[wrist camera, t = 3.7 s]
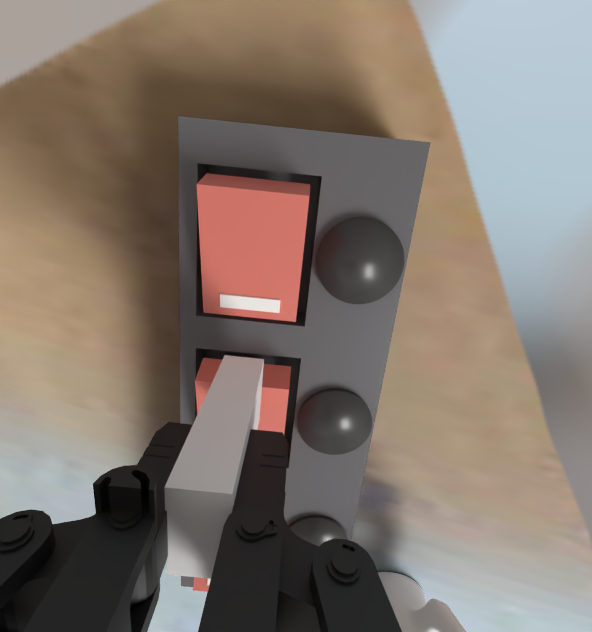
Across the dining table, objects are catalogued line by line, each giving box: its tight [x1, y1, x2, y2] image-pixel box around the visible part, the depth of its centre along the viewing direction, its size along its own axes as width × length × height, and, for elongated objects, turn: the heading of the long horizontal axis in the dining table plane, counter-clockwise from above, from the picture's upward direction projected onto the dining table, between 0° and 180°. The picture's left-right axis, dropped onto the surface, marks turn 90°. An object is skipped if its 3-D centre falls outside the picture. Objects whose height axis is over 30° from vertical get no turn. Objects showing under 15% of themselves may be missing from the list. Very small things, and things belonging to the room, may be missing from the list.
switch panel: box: [178, 116, 430, 587], centre depth 22 cm, size 9×36×5 cm, turn 174°
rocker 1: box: [197, 173, 310, 322], centre depth 15 cm, size 4×5×2 cm
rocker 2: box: [195, 358, 291, 434], centre depth 18 cm, size 4×5×2 cm
